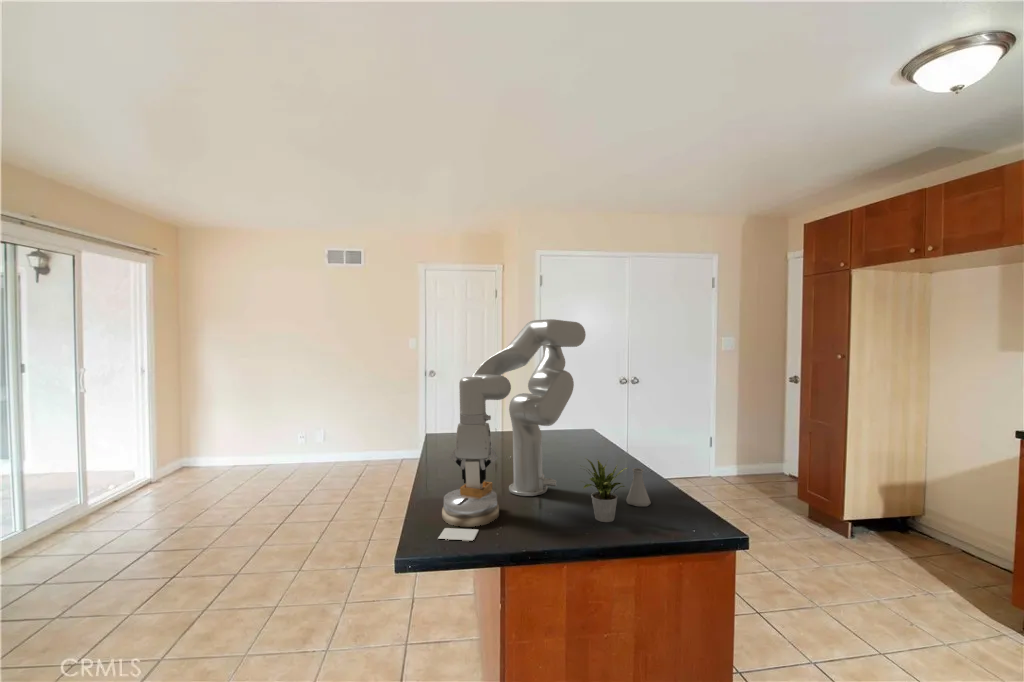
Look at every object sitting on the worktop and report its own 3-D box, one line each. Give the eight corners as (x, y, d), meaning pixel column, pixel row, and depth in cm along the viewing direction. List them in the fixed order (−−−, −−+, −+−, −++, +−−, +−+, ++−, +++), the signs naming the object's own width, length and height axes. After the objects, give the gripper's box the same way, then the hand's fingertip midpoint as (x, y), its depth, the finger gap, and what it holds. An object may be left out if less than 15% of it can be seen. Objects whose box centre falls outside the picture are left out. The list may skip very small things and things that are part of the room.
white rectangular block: (469, 488, 129) (468, 458, 129) (482, 488, 129) (481, 458, 129) (466, 493, 125) (465, 462, 125) (480, 493, 125) (478, 461, 125)
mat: (478, 531, 113) (478, 529, 113) (473, 541, 107) (473, 540, 107) (444, 529, 114) (444, 528, 114) (437, 539, 108) (437, 538, 108)
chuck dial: (483, 520, 114) (482, 501, 114) (433, 513, 119) (433, 495, 119) (505, 500, 128) (504, 483, 128) (459, 495, 133) (459, 478, 133)
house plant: (563, 515, 122) (562, 457, 122) (597, 503, 130) (596, 449, 130) (602, 533, 110) (601, 468, 110) (637, 519, 119) (636, 459, 119)
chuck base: (503, 505, 130) (503, 498, 130) (493, 528, 114) (493, 520, 114) (451, 503, 132) (451, 496, 132) (434, 525, 117) (434, 518, 117)
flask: (652, 500, 132) (651, 467, 132) (649, 508, 126) (648, 474, 126) (628, 497, 135) (627, 465, 135) (624, 505, 129) (623, 471, 129)
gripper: (503, 417, 130) (504, 478, 130) (448, 416, 132) (449, 477, 132) (499, 421, 122) (500, 487, 122) (441, 421, 125) (442, 485, 125)
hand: (474, 481), depth 127 cm, fingers closed on white rectangular block, 4 cm apart
